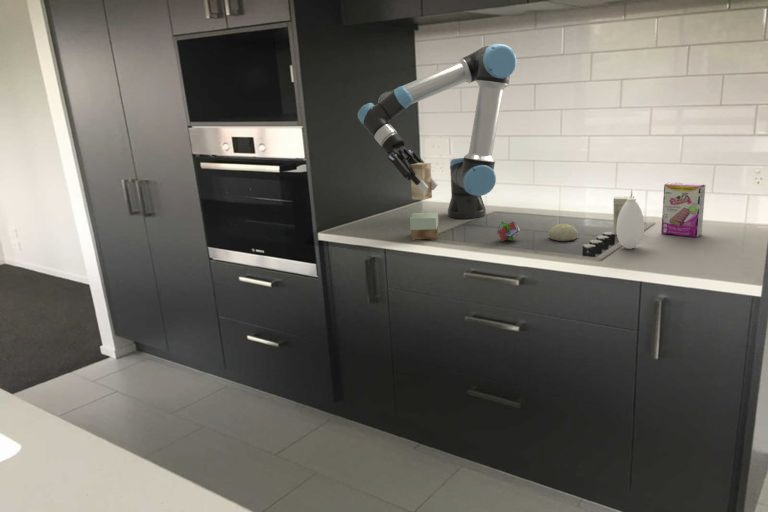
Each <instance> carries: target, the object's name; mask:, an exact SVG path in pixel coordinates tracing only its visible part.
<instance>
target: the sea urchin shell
mask: <svg viewBox="0 0 768 512" xmlns="http://www.w3.org/2000/svg"><path fill="white" fill-rule="evenodd" d="M548 237H549V238H550V239H551V240H554V241H558V242H559V241H560V242H568V241H569V242H571V241H575V239H577V237H578V230H577V228H576V227H574V226H573V225H571V224H568V223H558V224H555V225H554V226H552V227H551V228H550V229H549V231H548Z"/></svg>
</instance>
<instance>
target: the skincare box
mask: <svg viewBox="0 0 768 512" xmlns="http://www.w3.org/2000/svg"><path fill="white" fill-rule="evenodd" d="M630 197H631V196H614V197H613V235H614V236H617V232H616V225H617V219H618V216H619V213H620V211H621V209H622V207H623V205H624V204H625V203H626V202H627V198H630ZM632 198H635V196H632Z"/></svg>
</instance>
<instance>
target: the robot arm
mask: <svg viewBox="0 0 768 512" xmlns="http://www.w3.org/2000/svg"><path fill="white" fill-rule="evenodd" d="M516 67H517V56H516V53H515V52H514V50H513V48H511V47H510V46H508V45H506V44H502V43H493V44H491V45H486V46H485V45H484V46H483V47H481V48H479V49H477V50H476V51H473V52H472V53H470V54H468V55H466V56H464V57H461V58H460V59H459V61H458V62H456V63H454V64H452V65H449V66H446V67H444V68H442V69H440V70H438V71H434V72H433V73H431V74H428V75H425V76H423V77H421V78H418V79H415V80H414V81H411V82H409V83H406V84H404V85H402V86H401V85H400V86H398V87H397V88H395V89H392V90H390V91H385V92H383V93H382V94H380V96H379V98H378V101H377V104H375V103H372V102H369V103H366V104H363V106H361V107H360V108H359V110H358V112H357V118H358V120H359V121H360V122H361V124H362V125H363V127H364V128H365V129H366V130H367V132H368V133H369V134H370V136H372V138H374V140H375V141H376V142H377V143H378V144H379V146H380V147H382V150H383V151H384V152H385V153H386V154H387V155H388V156H387V159H388V161H390V162H391V163H392V165H393V166H394V167H395V168H396V169H397V170H398V171H399V172H400V174H401V175H402V176H403V178H405V179H407V181H411V180H412V181H413V182H414V183H415V184H416V185H417V186H418V188H419V189H420V190H421V191H422V192H423V193H425V191H426V190H427V189H428V188H429V187H428V186H427V185H426V184H425V183H424V181H423V180H422V179H421V178H420V177H419V175H418V174H415V173H414V171H413V169H412V168H411V166H410V165H411V164H415V163H425V162H424V160H423V159H422V158H421V157H420V155H419V154H418V153H417V151H416V150H415V149H414V148H412V149H409V148H408V147H406V146H405V139H404V138H403V137H402V136H401V135H400V134H399V133H398V131H397V130H396V129H395V128H394V127H393V126H392V125H391V123H390V122H391V121H392V120H393V119H394V118H396V117H397V116H398V115H400V114H401V113H402V112H403V111H405V110H406V109H408V107H410V106H411V105H413V104H415V103H418V102H420V101H422V100H425V99H427V98H429V97H432V96H435V95H437V94H440V93H442V92H444V91H447V90H449V89H451V88H454V87H456V86H457V87H458V86H459V85H461V84H464V83H468V84H470V83H472V82H476V83H477V85H478V86H479V88H478V94H477V101H476V107H475V112H474V118H473V124H472V131H471V136H470V142H469V149H468V150H469V151H468V153H467V154H465V155H464V156H463V157H459V158H453V159H451V160H450V165H449V169H450V187H451V188H450V189H451V194H450V195H451V198H450V202H449V205H448V208H447V216H448V217H449V218H451V219H462V220H463V219H464V220H466V219H476V218H481V217H484V216H486V214H487V210H486V206H485V203H484V200H483V197H482V196H485V195H487V194H489V193H490V192H491V191H492V190H493V189H494V187H495V186H496V183H497V182H496V181H497V177H496V173H495V163H496V160H495V158H494V157H493V150H494V145H495V140H496V134H497V133H496V132H497V128H498V127H497V126H498V122H499V116H500V110H501V105H502V98H503V93H504V90H505V88H507V87H509V84H510V76H511V75H512V74H513V73H514V71H515V70H516ZM414 174H415V175H414ZM431 186H432V191H434V190H435V189H436V188H437V187H438V186H439V184H438V183H437V182H436V181H435V179H434V178H433V177H432V176H431Z"/></svg>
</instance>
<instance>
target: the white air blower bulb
mask: <svg viewBox="0 0 768 512" xmlns="http://www.w3.org/2000/svg"><path fill="white" fill-rule="evenodd" d="M629 197H630V198H627V202H626V203H625V204H624V205H623V207H622V209H621V211H620V213H619V216H618V219H617V225H616V232H617V235H616V238H617V240H618V242H619V244H620V245H622V246H623V248H625V249H626V250H627V249H628V250H633V248H636V247H637V246H638V245H640V244H641V241H642V239H643V237H644V233H645V219H644V218H645V217H644V215H643V211H642V209H641V207H640V205H639V203H638V202H637V199H636V197H634V198H632V197H633V190H632V189H631V190H630V196H629Z"/></svg>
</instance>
